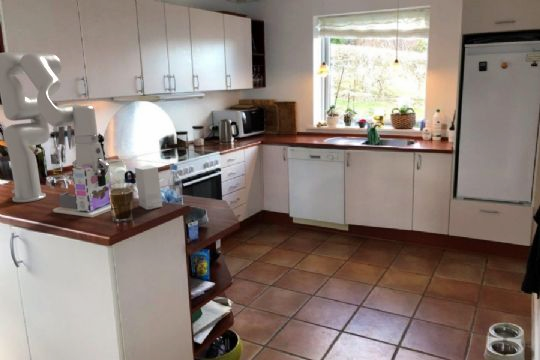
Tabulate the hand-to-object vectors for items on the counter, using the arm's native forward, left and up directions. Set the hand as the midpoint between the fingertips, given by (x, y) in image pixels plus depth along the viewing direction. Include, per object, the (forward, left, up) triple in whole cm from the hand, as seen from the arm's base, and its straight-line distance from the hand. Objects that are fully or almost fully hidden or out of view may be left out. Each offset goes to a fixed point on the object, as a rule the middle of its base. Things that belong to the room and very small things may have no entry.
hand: (92, 184), depth 172 cm
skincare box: (+17, +11, -10) cm, 23 cm away
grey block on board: (-4, 0, -10) cm, 11 cm away
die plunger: (-9, 0, -8) cm, 12 cm away
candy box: (0, 0, -9) cm, 9 cm away
